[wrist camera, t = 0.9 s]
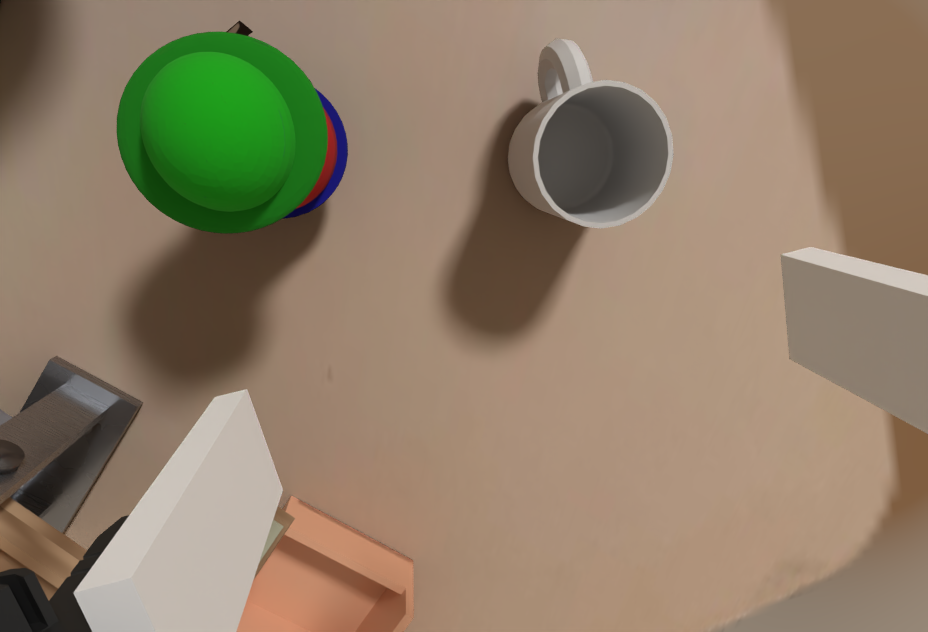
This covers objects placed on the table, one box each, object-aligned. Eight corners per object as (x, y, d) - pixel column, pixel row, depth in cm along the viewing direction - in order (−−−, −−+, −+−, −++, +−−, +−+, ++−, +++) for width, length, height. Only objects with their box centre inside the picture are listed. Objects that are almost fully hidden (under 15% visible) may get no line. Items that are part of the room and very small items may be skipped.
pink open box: (225, 593, 45) (199, 656, 40) (291, 495, 44) (273, 546, 38) (346, 651, 47) (338, 720, 42) (413, 560, 46) (413, 617, 40)
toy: (238, 236, 39) (138, 279, 25) (177, 100, 37) (29, 61, 23) (372, 187, 39) (351, 203, 25) (319, 49, 37) (262, -24, 23)
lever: (-88, 460, 38) (-240, 516, 30) (18, 266, 36) (-118, 274, 28) (203, 661, 38) (124, 767, 30) (326, 478, 36) (274, 544, 28)
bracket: (-19, 487, 42) (-183, 613, 30) (56, 356, 40) (-87, 434, 29) (66, 528, 43) (-60, 664, 32) (143, 402, 41) (39, 496, 30)
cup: (522, 227, 41) (552, 245, 32) (480, 71, 38) (501, 45, 30) (627, 195, 41) (685, 205, 32) (592, 37, 38) (646, 1, 30)
